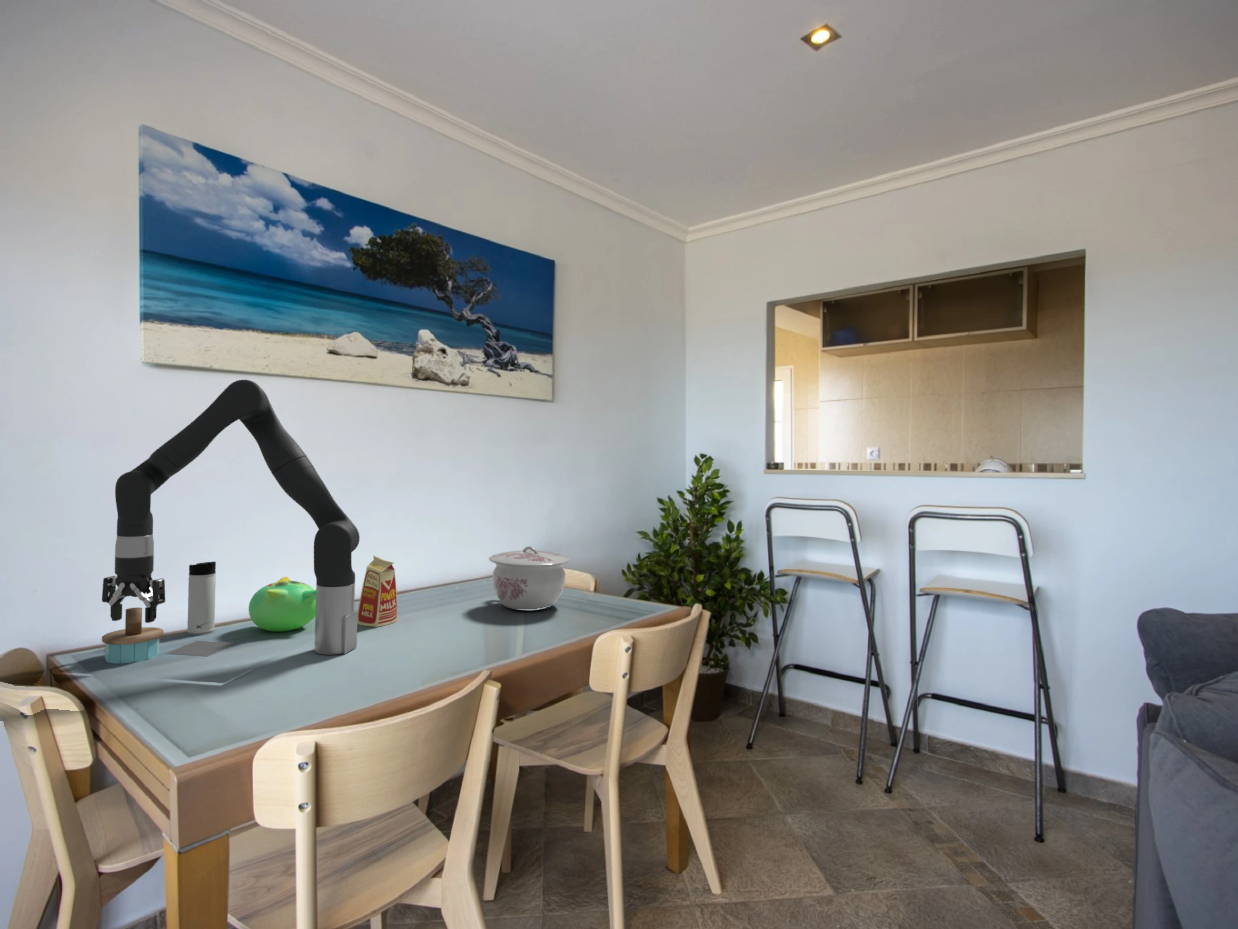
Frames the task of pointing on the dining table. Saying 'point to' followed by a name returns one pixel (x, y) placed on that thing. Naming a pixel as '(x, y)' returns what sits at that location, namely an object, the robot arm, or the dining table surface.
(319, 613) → the robot arm
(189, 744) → the dining table surface
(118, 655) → the bowl
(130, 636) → the lid
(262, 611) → the toy bird
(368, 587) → the milk carton
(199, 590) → the travel mug
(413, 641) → the dining table surface
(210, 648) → the mat
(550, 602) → the chamber pot
